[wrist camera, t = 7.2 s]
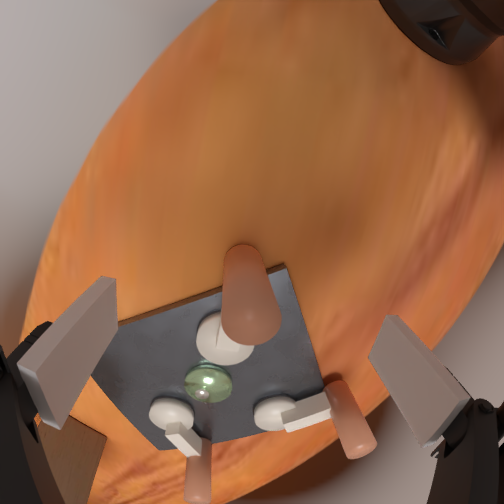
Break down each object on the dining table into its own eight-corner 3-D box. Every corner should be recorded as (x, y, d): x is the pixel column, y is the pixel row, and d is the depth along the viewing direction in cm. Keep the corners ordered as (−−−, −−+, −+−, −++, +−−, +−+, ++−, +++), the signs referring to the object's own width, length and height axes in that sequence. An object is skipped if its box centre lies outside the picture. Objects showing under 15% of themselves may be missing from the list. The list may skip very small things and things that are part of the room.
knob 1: (142, 401, 26) (125, 464, 17) (180, 394, 26) (170, 462, 17) (188, 450, 29) (184, 505, 20) (222, 445, 29) (224, 502, 20)
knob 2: (246, 360, 25) (254, 435, 16) (194, 352, 24) (183, 426, 16) (278, 251, 22) (307, 303, 13) (215, 238, 21) (206, 284, 13)
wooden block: (47, 427, 30) (10, 508, 10) (51, 402, 28) (2, 499, 9) (96, 455, 32) (71, 542, 13) (108, 436, 30) (77, 542, 11)
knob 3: (262, 427, 28) (271, 489, 20) (247, 404, 27) (254, 472, 18) (349, 397, 28) (377, 453, 19) (344, 370, 26) (376, 431, 18)
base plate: (283, 263, 24) (289, 272, 22) (328, 403, 30) (333, 416, 28) (72, 337, 25) (63, 348, 22) (160, 444, 30) (158, 456, 28)
